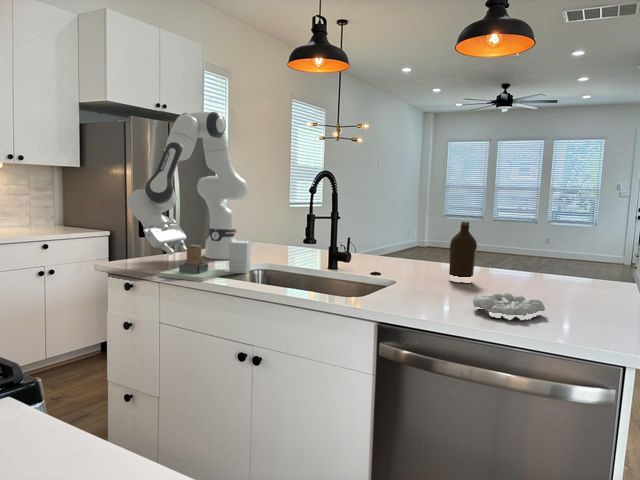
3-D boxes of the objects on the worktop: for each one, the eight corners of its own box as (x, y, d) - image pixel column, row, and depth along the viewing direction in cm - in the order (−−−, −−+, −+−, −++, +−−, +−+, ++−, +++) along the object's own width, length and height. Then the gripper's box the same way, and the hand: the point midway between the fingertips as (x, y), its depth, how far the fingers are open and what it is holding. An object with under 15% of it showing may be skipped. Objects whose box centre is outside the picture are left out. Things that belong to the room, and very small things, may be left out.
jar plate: (185, 269, 203) (185, 265, 203) (225, 273, 198) (225, 270, 198) (159, 276, 186) (159, 272, 186) (202, 281, 181) (203, 277, 181)
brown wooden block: (191, 270, 194) (192, 244, 193) (200, 271, 193) (201, 245, 192) (186, 271, 191) (186, 245, 189) (195, 272, 189) (196, 246, 188)
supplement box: (250, 270, 208) (251, 241, 206) (246, 274, 200) (247, 243, 199) (233, 269, 208) (234, 240, 207) (228, 272, 201) (229, 241, 199)
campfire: (476, 302, 169) (477, 285, 168) (543, 311, 161) (545, 293, 160) (468, 318, 149) (470, 299, 148) (544, 329, 141) (547, 309, 140)
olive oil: (451, 283, 201) (456, 222, 199) (444, 278, 212) (448, 220, 209) (477, 284, 202) (482, 223, 199) (468, 279, 212) (473, 221, 210)
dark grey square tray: (189, 268, 197) (189, 261, 197) (208, 270, 195) (209, 263, 194) (177, 272, 189) (178, 264, 189) (197, 274, 187) (198, 266, 186)
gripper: (146, 221, 184) (169, 250, 182) (176, 219, 203) (197, 244, 202) (135, 232, 185) (158, 260, 184) (166, 229, 205) (187, 254, 203)
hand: (179, 252), depth 193 cm, fingers open, 8 cm apart
